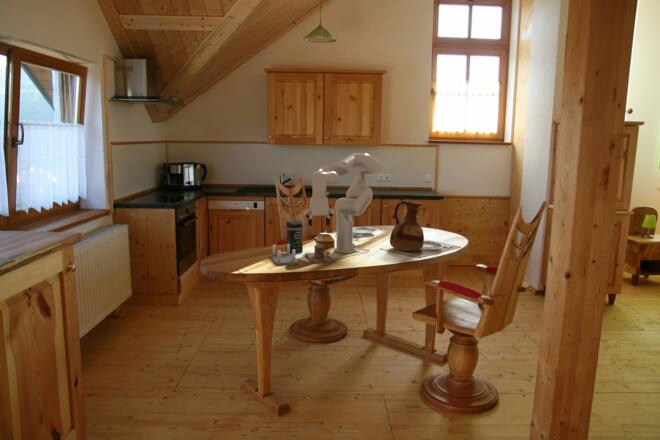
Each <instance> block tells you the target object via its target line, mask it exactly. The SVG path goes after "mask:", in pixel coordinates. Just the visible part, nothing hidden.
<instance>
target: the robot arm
mask: <svg viewBox="0 0 660 440" xmlns="http://www.w3.org/2000/svg"><path fill="white" fill-rule="evenodd" d="M382 169H383V167H382V163H381V161H379V160H378V159H376V158H375V157H374V156H372V155H371V154H369V153H364V152H363V153H360V152H354V153H350V154H349V155H347V156H346V157H344V158H343V159H342V160H340V161H337V162H333V163H329V164H327V165H324V166H322V167H321V168H319V169H318V170H316V171H314V172H313V173H312V196H311V197H310V199H309V200H310V201H309V208H307V209H305V210H303V213H304V216H305V217H306V219H308V221H307V222H308V223H307V224H308V225H309V227H312V226H313V219H312V218H313V217H317V216H320V217H323V216H325V217H326V218H325V225H326V226H327V227H329V226H330V223H331V221H330V220H331V218H332V217H333V215H334V214H336V247H334V248H333V252H334V253H338V254H351V253H355V252H356V248H358V249H359V248H360V249H361V245H362V244H357V243H353V240H354V238H353V237H354V235H353V233H354V220H353V217H352V216H356V217H357V216H361V215H362V214H363V213H364V212H365V211H366V209H367V208H368V206H369V205H370V203H371V202H372V199H373V197H374V196H373V195H374V194H373V190H372V188H371V187H369V181H368V177H367V175H368V176H369V175H370V176H378V175H379V174H381V173H382ZM354 170H355V179H354V181H353V182H352V184H351V185H350V186H349V188H348V189H347V191H346V194H345V197H340V198H337V200H335V203H334V208H335V209H333V208H330V206H329V200H328V197H327V196H328V195H330V192H327V185H328V186H329V185H330V186H334V185H337V184H338V183H339V181H340V177H341V176H342V177H343V176H347V175H349V174H350V173H351V172H353V171H354ZM329 211H330V212H329ZM308 212H309V214H308Z"/></svg>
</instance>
